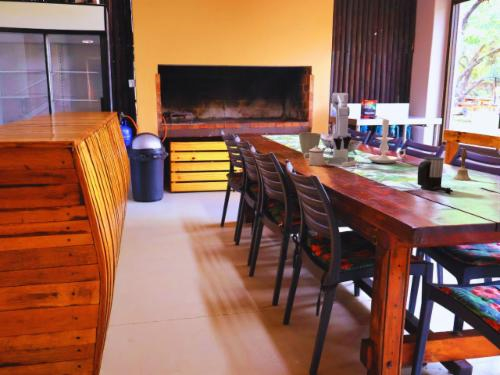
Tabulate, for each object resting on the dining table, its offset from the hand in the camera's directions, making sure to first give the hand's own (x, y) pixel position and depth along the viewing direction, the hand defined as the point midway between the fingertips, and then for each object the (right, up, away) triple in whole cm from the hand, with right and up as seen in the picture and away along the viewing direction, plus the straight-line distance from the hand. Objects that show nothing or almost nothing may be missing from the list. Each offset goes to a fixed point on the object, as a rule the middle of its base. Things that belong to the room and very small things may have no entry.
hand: (342, 149), depth 281 cm
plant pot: (-16, -3, +34) cm, 37 cm away
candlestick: (+30, -8, +11) cm, 33 cm away
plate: (0, -8, +2) cm, 9 cm away
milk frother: (+29, -25, -71) cm, 80 cm away
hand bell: (+54, -19, -43) cm, 72 cm away
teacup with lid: (-17, -10, +1) cm, 20 cm away
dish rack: (0, -9, +2) cm, 10 cm away
